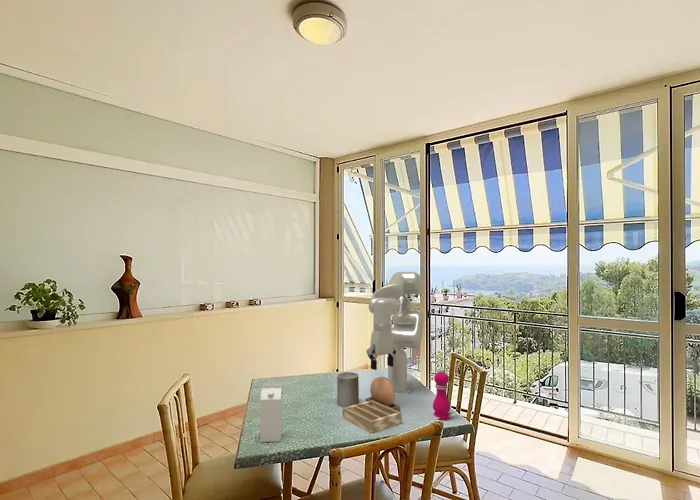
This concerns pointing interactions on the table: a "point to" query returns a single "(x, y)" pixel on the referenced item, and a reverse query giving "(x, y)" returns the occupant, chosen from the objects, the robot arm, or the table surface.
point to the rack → (372, 416)
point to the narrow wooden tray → (394, 406)
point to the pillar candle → (347, 389)
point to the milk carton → (271, 413)
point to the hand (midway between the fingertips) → (382, 367)
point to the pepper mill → (441, 396)
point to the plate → (382, 391)
